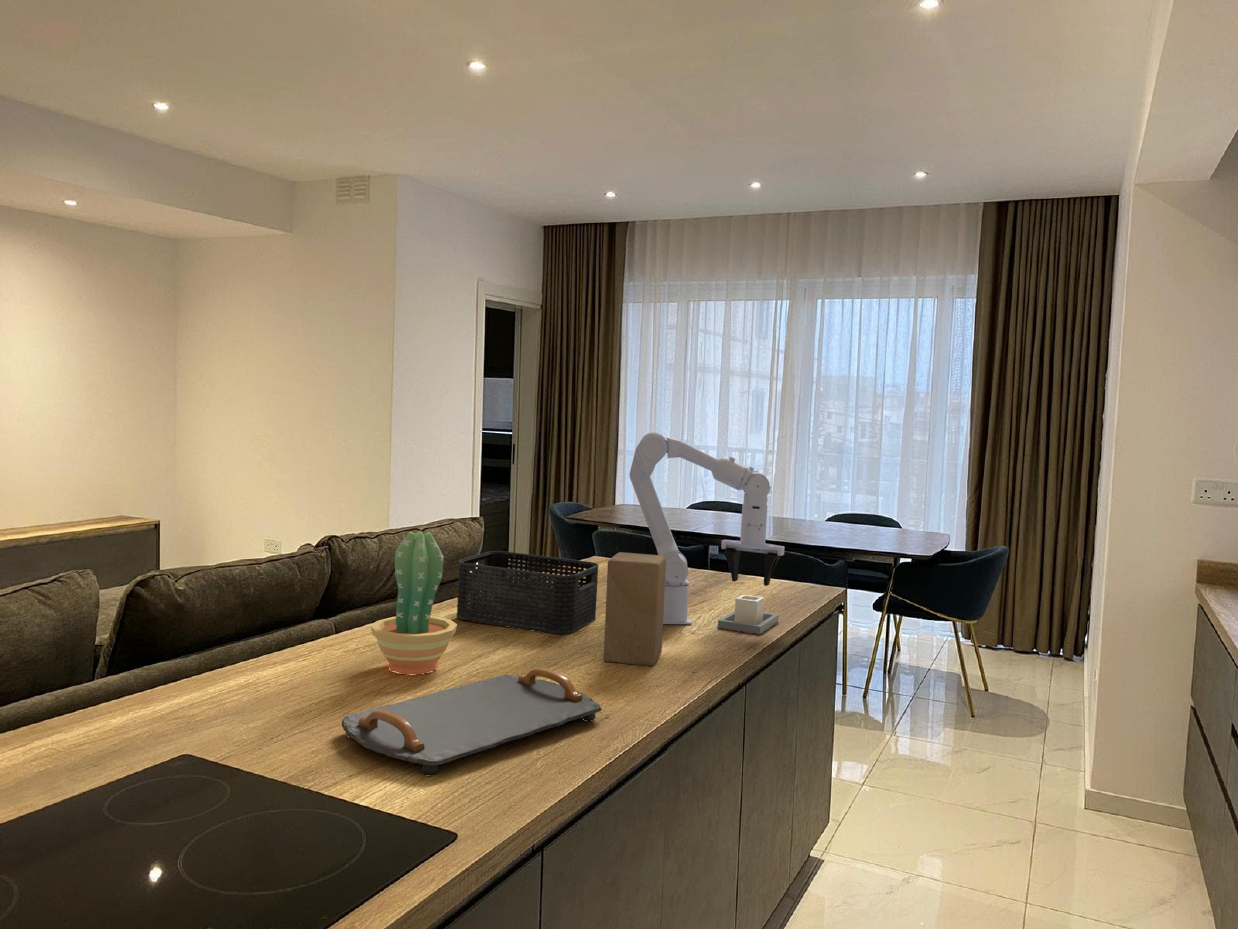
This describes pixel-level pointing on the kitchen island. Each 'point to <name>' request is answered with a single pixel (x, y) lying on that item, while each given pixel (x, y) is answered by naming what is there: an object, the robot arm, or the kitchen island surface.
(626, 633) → the wooden block
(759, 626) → the tray
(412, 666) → the potted cactus
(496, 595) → the storage bin
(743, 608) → the cream block
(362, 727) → the serving board
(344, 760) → the kitchen island surface
